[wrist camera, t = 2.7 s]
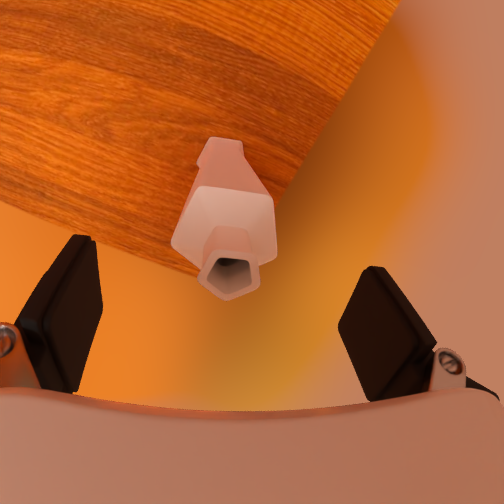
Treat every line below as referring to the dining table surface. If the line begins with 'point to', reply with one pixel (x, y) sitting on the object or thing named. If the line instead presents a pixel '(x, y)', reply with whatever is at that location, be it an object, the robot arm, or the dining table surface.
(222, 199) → the perfume bottle
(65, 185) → the dining table surface
